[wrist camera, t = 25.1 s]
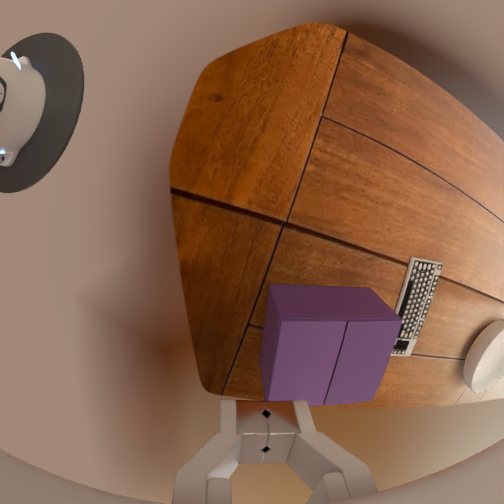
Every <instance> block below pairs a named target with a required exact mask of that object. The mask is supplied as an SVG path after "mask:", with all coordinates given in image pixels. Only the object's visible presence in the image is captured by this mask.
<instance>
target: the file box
mask: <svg viewBox="0 0 504 504" xmlns="http://www.w3.org/2000/svg"><path fill="white" fill-rule="evenodd" d="M281 320H346V321H347V323H346V327H345V331H344V335H343V338H342V342H341V346H340V349H339V353H338V356H337V360H336V363H335V367H334V370H333V373H332V377H331V380H330V383H329V386H328V389H327V393H326V396H325V399H324V403H323V405H324V406H325V405H337V404H347V403H356V402H364V401H371V400H373V398H374V396H375V394H376V391H377V389H378V386H379V384H380V382H381V379H382V377H383V374H384V372H385V369H386V367H387V364H388V361H389V359H390V356H391V353H392V351H393V348H394V345H395V342H396V339H397V336H398V333H399V330H400V327H401V324H402V321H403V320H402V319H400V317H399V316H398V315H397V314H396V313H395V312H394V311H393V310H392V309H391V308H390V307H389V306H388V305H387V304H386V303H385V302H384V301H383V300H382V299H381V298H380V297H379V296H378V295H377V294H376V293H375V292H374V291H373V290H371V289H370V288H362V287H333V286H310V285H289V284H270V283H269V289H268V297H267V305H266V313H265V321H264V329H263V337H262V345H261V352H260V360H259V363H260V370H261V377H262V383H263V390H264V397H265V401H268V395H269V390H270V384H271V378H272V373H273V367H274V361H275V355H276V348H277V342H278V336H279V330H280V323H281Z"/></svg>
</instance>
